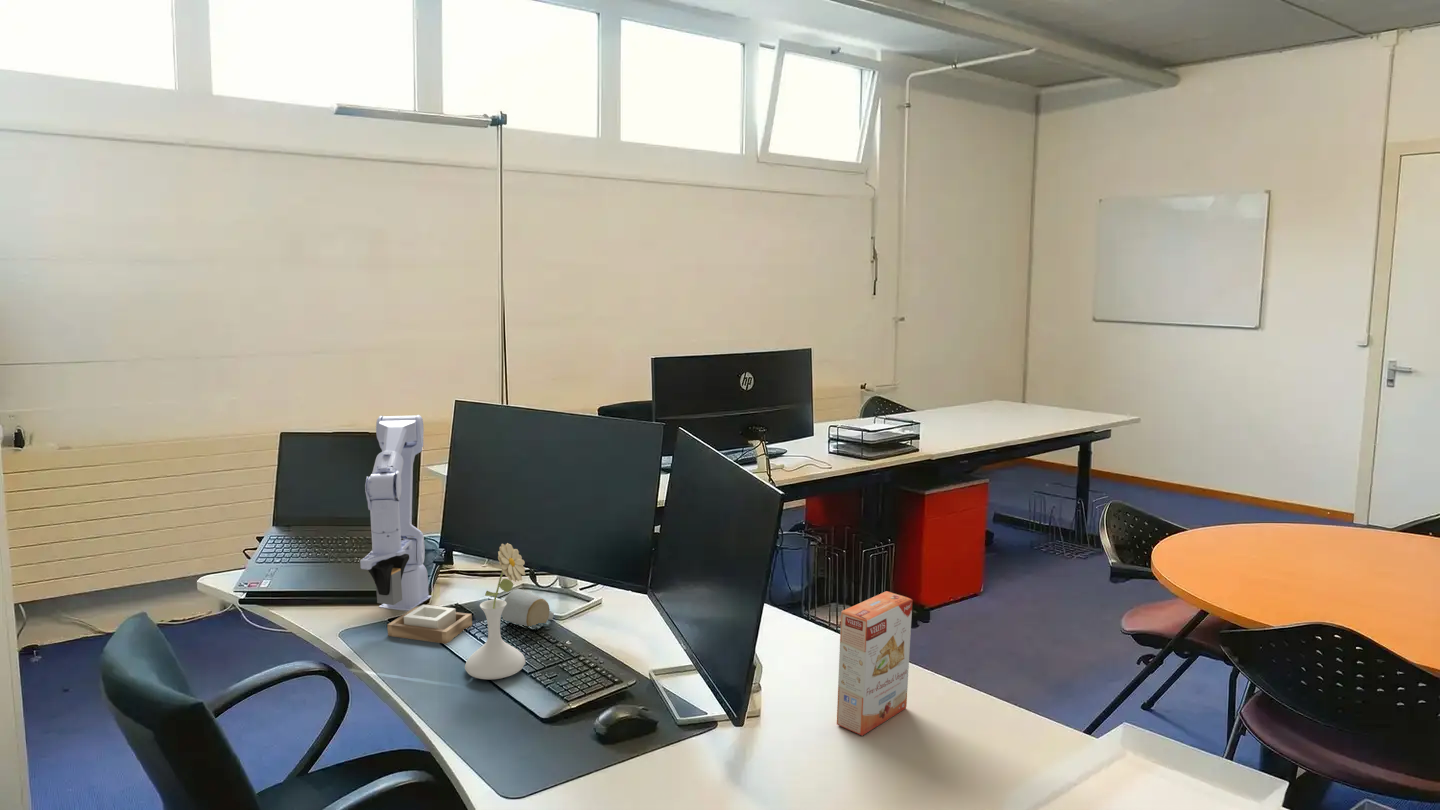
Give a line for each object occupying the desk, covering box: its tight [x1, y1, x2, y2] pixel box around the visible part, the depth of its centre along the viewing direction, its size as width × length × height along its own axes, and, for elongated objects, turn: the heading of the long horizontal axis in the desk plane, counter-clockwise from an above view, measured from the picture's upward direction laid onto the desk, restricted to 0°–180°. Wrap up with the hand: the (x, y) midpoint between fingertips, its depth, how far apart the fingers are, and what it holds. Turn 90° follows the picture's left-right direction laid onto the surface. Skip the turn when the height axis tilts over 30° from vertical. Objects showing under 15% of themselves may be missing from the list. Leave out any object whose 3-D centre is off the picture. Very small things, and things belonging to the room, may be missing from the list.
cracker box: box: [836, 590, 914, 736], centre depth 155 cm, size 14×6×21 cm, turn 136°
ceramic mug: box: [501, 588, 555, 626], centre depth 196 cm, size 11×8×8 cm
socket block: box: [404, 604, 457, 630], centre depth 191 cm, size 7×8×4 cm
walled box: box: [386, 606, 473, 645], centre depth 191 cm, size 10×14×3 cm
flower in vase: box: [464, 542, 526, 680], centre depth 172 cm, size 13×11×25 cm
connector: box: [375, 568, 402, 605], centre depth 189 cm, size 3×4×7 cm
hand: (389, 591), depth 189 cm, fingers closed on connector, 3 cm apart
